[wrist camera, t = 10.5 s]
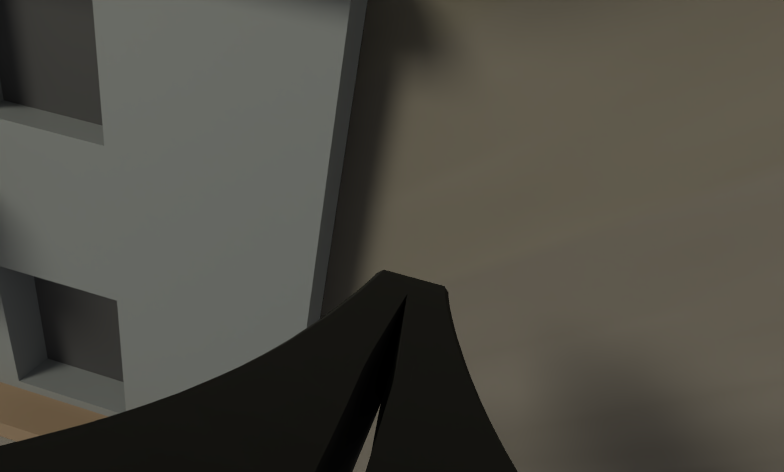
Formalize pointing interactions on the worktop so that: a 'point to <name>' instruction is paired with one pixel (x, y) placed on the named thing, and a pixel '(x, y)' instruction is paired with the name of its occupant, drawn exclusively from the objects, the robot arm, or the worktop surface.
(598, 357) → the worktop surface
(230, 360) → the trap board
